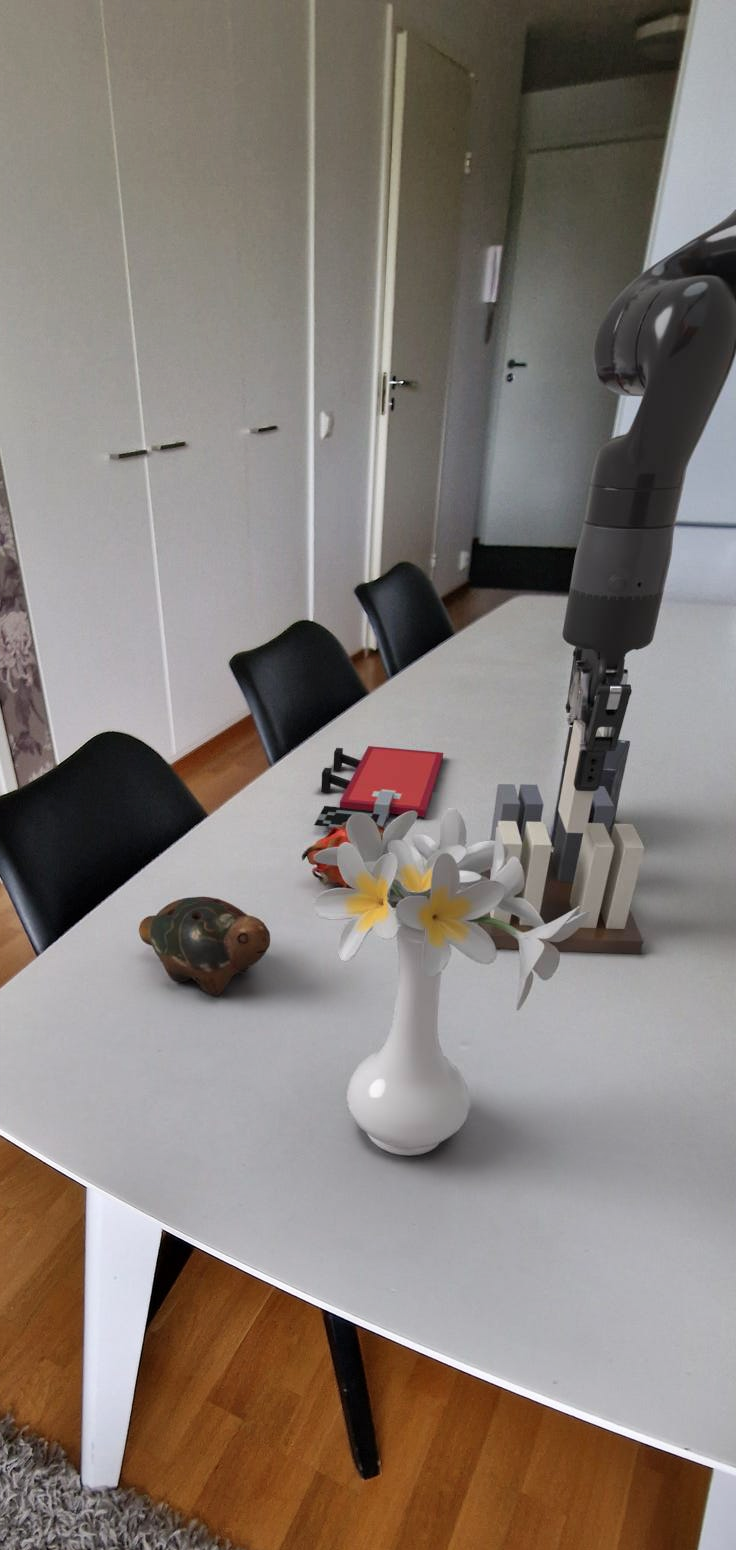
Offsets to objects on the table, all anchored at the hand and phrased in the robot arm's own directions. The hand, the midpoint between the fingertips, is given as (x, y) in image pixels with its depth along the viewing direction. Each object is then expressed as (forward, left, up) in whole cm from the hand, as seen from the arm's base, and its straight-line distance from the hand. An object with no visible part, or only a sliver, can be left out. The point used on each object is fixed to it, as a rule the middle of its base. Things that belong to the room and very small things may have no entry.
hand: (580, 776), depth 87 cm
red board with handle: (+19, -35, -16) cm, 43 cm away
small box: (-7, -24, -16) cm, 30 cm away
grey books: (0, -10, -15) cm, 18 cm away
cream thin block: (0, 0, -4) cm, 4 cm away
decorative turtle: (+35, +12, -16) cm, 41 cm away
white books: (0, 0, -15) cm, 15 cm away
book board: (0, -5, -16) cm, 17 cm away
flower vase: (+15, +33, -16) cm, 40 cm away
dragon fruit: (+21, -7, -16) cm, 28 cm away
